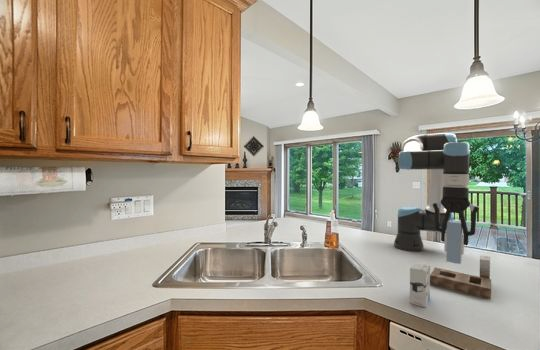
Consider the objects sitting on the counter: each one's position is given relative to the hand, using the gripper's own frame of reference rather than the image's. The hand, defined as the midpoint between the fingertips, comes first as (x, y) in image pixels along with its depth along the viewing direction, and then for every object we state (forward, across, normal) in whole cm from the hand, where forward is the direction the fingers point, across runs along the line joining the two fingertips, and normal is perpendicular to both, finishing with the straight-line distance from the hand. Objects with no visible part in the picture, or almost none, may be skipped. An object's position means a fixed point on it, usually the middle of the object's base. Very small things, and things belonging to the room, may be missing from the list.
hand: (454, 252), depth 93 cm
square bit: (+3, 0, 0) cm, 3 cm away
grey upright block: (+15, +8, +20) cm, 26 cm away
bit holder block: (+15, +1, +10) cm, 18 cm away
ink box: (+15, -8, -14) cm, 22 cm away
